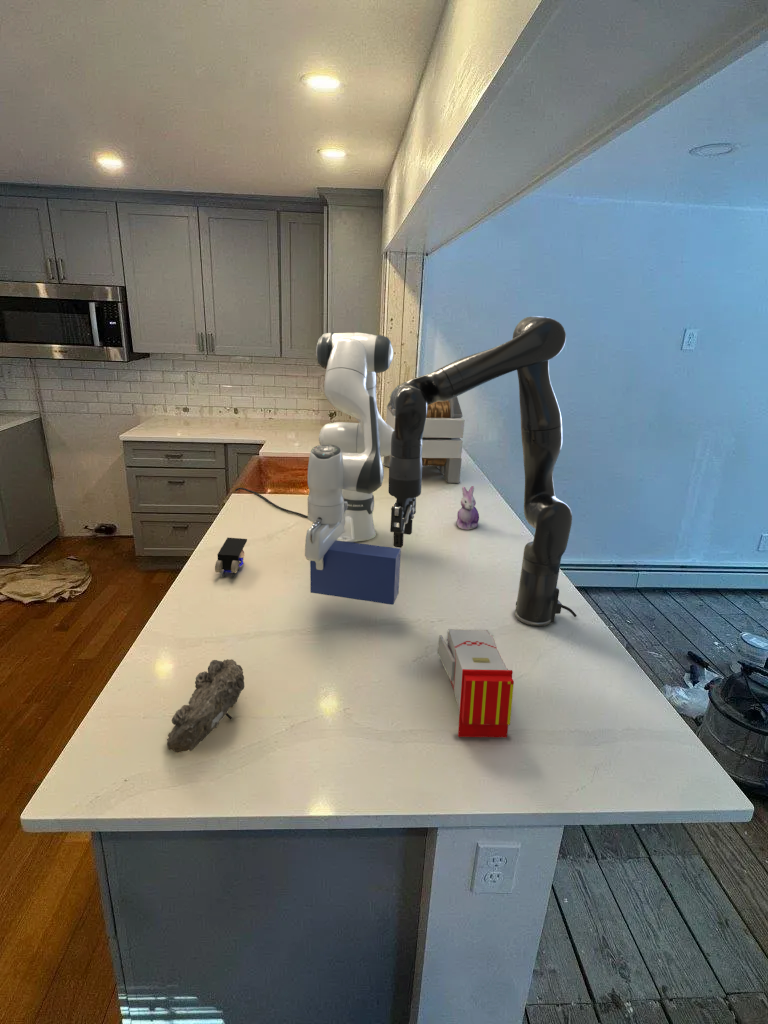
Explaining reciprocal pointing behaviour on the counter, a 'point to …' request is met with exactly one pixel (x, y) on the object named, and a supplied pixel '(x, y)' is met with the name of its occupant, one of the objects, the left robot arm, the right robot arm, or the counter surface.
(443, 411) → the grey boxy piece
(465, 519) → the figurine
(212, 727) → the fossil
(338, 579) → the box
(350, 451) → the left robot arm
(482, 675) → the toy
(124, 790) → the counter surface
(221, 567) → the figurine character
